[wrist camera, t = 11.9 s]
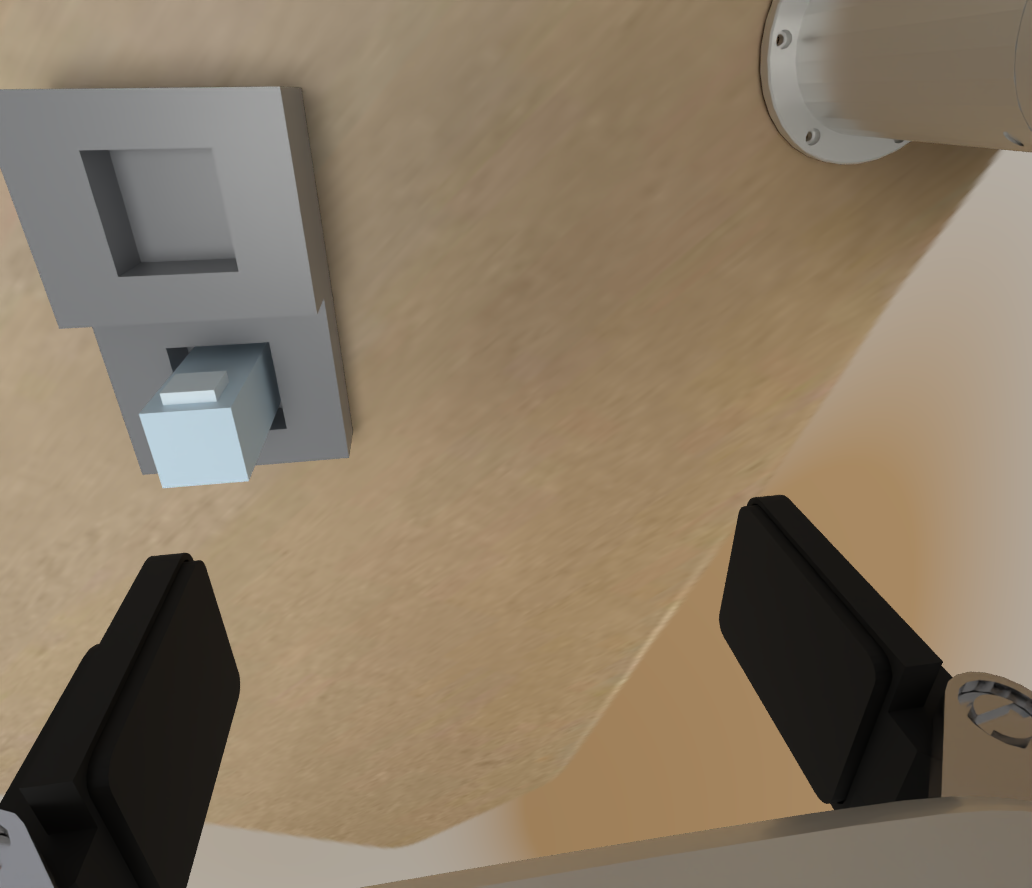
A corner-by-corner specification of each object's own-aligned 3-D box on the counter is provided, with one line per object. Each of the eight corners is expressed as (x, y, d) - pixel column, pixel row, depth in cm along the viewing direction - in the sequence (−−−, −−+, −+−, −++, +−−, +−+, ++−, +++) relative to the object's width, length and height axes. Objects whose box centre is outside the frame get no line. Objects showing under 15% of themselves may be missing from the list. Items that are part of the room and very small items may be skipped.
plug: (268, 326, 38) (227, 395, 29) (282, 397, 40) (248, 480, 32) (197, 330, 38) (134, 402, 29) (215, 401, 40) (162, 488, 31)
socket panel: (301, 87, 33) (279, 86, 27) (352, 431, 43) (345, 483, 37) (49, 90, 31) (-29, 89, 26) (161, 446, 41) (123, 502, 35)
